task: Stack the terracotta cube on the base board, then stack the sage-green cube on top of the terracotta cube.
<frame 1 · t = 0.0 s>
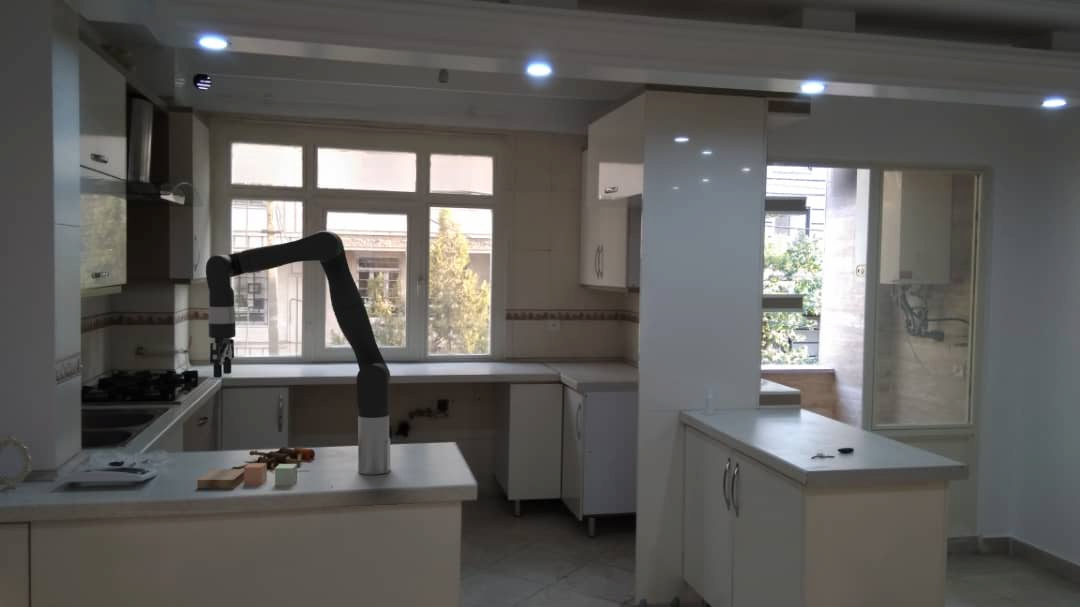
hand: (222, 375, 253), 29 cm above the worktop, tool pointing down, fingers open, 8 cm apart
base board: (222, 482, 242), on the worktop
sage block: (286, 483, 242), on the worktop
terracotta block: (255, 482, 243), on the worktop
toy: (270, 468, 262), on the worktop, touching base board
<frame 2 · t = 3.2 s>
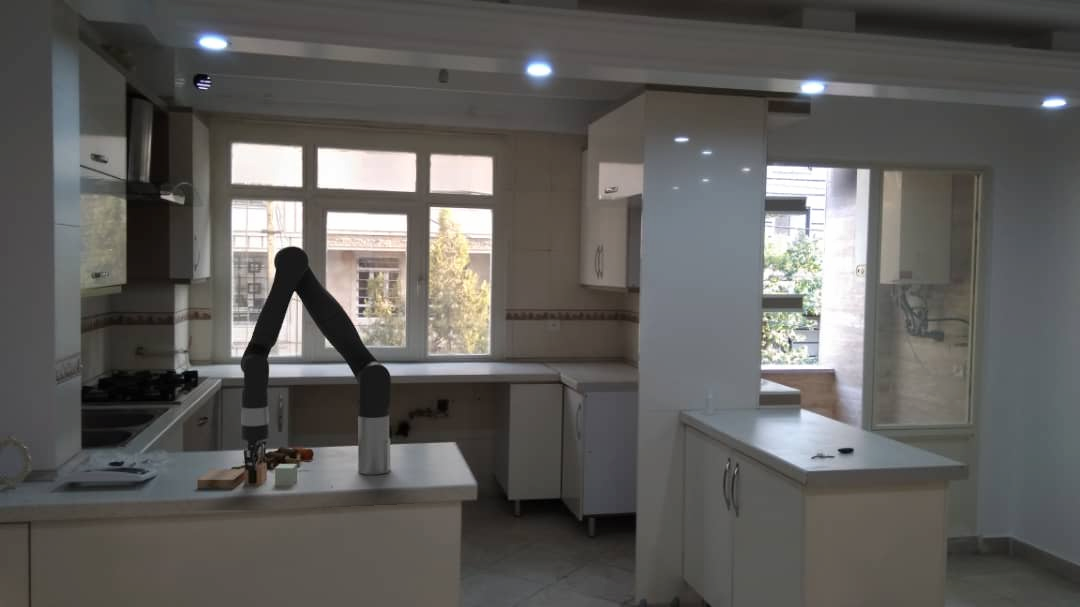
hand: (255, 480, 243), 0 cm above the worktop, tool pointing down, fingers closed on terracotta block, 5 cm apart
terracotta block: (255, 482, 243), on the worktop, touching gripper
toy: (269, 468, 262), on the worktop
everything else where it was.
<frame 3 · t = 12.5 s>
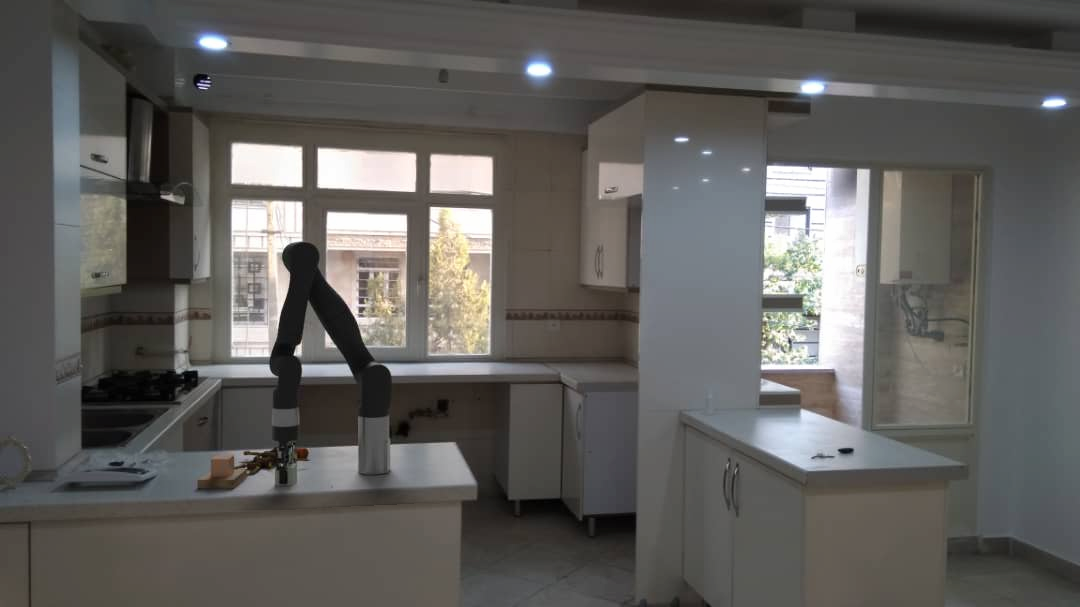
hand: (286, 481, 242), 0 cm above the worktop, tool pointing down, fingers closed on sage block, 5 cm apart
sage block: (286, 483, 242), on the worktop, touching gripper
terracotta block: (222, 474, 242), point 2 cm above the worktop, touching base board
toy: (266, 467, 263), on the worktop
when the fingers open (9 cm above the worktop, at t = 17.4 s): sage block stays where it is, resting on terracotta block.
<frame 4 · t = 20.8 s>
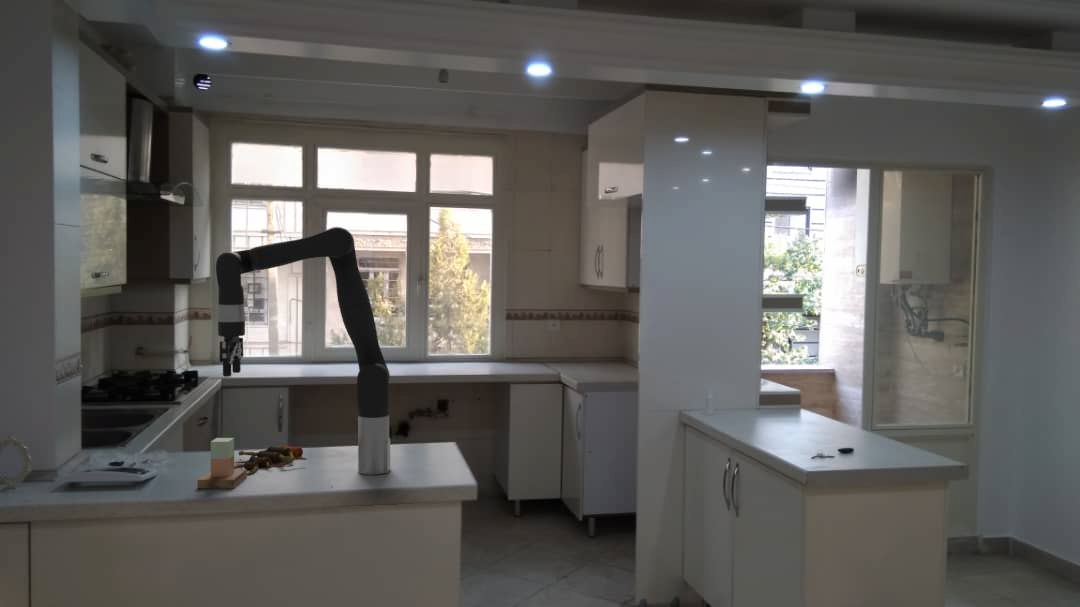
hand: (231, 374, 249), 30 cm above the worktop, tool pointing down, fingers open, 8 cm apart
sage block: (222, 457, 241), point 7 cm above the worktop, touching terracotta block
terracotta block: (222, 474, 242), point 2 cm above the worktop, touching base board, sage block
toy: (263, 467, 263), on the worktop, touching base board
at the end: terracotta block inside the target area on the base board (0.1 cm from its centre), point 2.5 cm above the base board's base; sage block 0.1 cm off-centre on the terracotta block, point 5.0 cm above the terracotta block's base; sage block tilted 0° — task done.
